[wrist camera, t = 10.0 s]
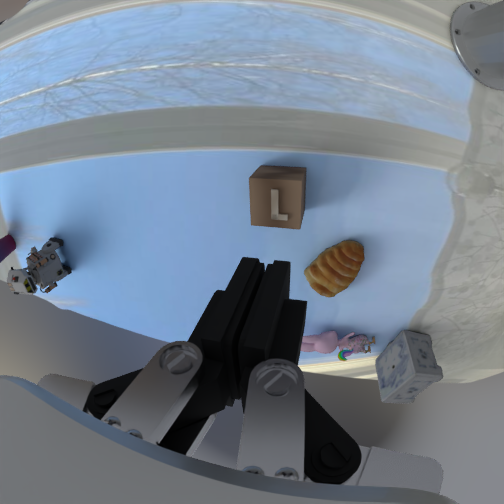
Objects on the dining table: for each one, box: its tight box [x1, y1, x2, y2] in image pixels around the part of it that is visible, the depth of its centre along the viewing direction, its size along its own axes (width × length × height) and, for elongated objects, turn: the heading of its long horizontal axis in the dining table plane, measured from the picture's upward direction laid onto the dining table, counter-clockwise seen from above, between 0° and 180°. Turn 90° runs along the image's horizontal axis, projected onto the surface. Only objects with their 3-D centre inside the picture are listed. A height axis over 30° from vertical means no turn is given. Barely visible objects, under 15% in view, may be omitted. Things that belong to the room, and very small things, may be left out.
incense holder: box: [375, 330, 443, 403], centre depth 43 cm, size 10×8×10 cm
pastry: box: [304, 240, 364, 297], centre depth 41 cm, size 9×7×4 cm
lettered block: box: [249, 165, 306, 229], centre depth 36 cm, size 6×6×6 cm
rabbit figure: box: [300, 331, 375, 361], centre depth 48 cm, size 6×6×15 cm
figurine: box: [7, 237, 72, 295], centre depth 53 cm, size 9×12×15 cm
